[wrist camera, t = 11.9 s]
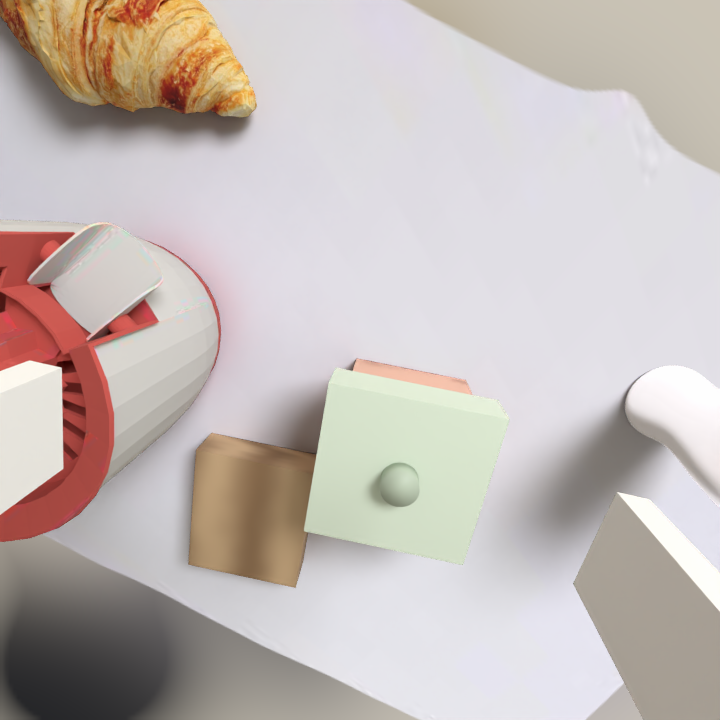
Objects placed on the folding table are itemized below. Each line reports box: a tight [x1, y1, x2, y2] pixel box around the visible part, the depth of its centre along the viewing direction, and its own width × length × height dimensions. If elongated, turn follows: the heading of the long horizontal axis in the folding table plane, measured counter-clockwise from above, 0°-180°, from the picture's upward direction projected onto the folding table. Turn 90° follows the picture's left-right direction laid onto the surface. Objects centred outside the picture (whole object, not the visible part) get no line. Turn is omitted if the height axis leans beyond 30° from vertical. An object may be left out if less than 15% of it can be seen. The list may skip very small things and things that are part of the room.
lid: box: [304, 368, 510, 565], centre depth 27 cm, size 11×11×4 cm
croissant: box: [0, 0, 257, 118], centre depth 26 cm, size 21×10×8 cm, turn 63°
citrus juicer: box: [0, 220, 221, 542], centre depth 25 cm, size 16×17×20 cm
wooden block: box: [188, 433, 316, 588], centre depth 37 cm, size 10×12×3 cm
